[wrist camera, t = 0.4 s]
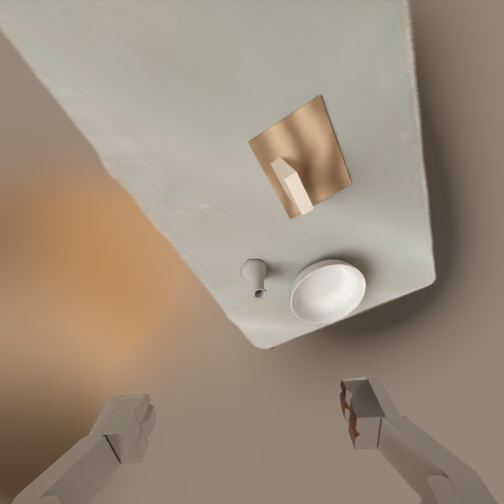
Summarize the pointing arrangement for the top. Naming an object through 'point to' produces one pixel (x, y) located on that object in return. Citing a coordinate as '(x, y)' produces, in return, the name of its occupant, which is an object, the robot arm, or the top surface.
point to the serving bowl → (327, 291)
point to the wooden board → (303, 154)
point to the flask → (255, 276)
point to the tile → (292, 185)
